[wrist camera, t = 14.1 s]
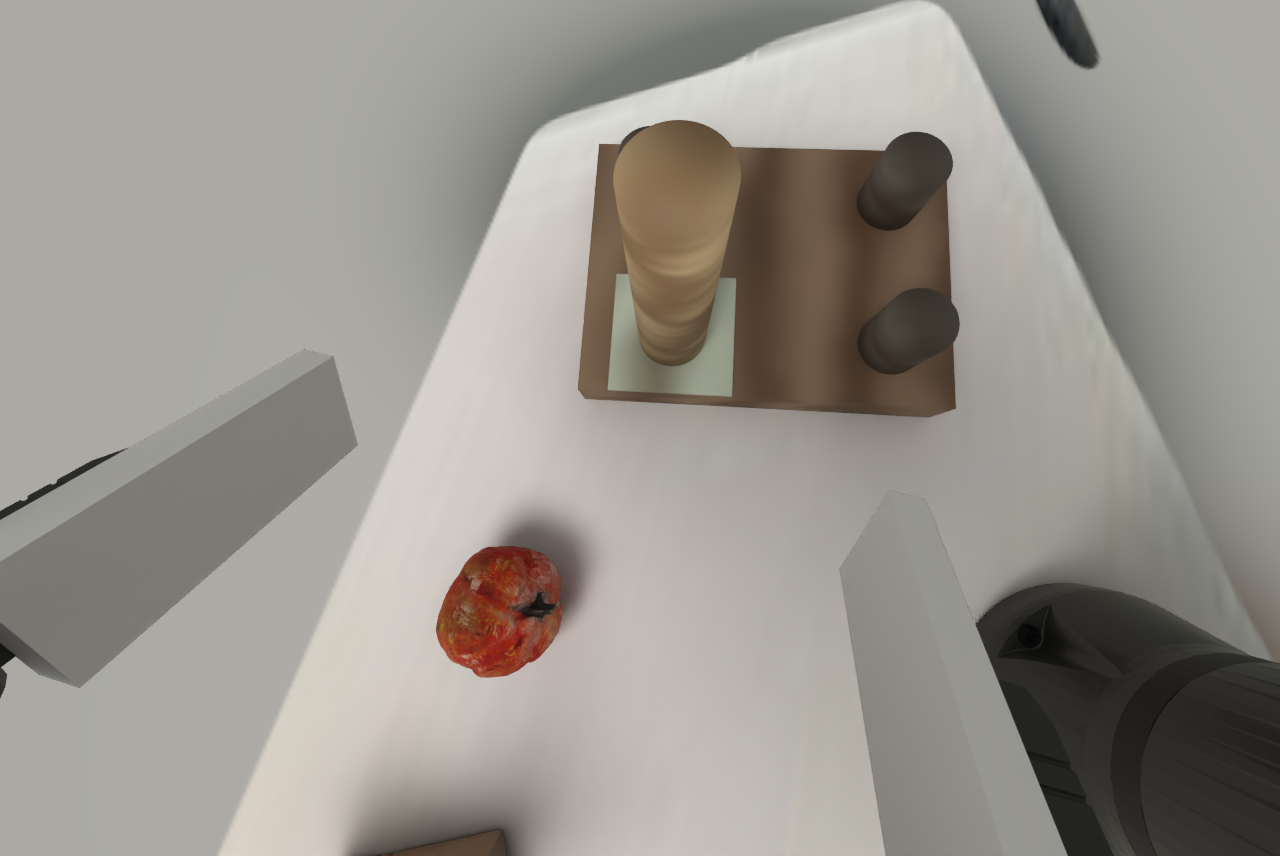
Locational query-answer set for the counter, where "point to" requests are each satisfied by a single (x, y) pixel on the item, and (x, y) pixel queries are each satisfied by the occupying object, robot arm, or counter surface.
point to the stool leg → (675, 231)
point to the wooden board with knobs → (799, 289)
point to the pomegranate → (501, 611)
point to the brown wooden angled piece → (462, 847)
